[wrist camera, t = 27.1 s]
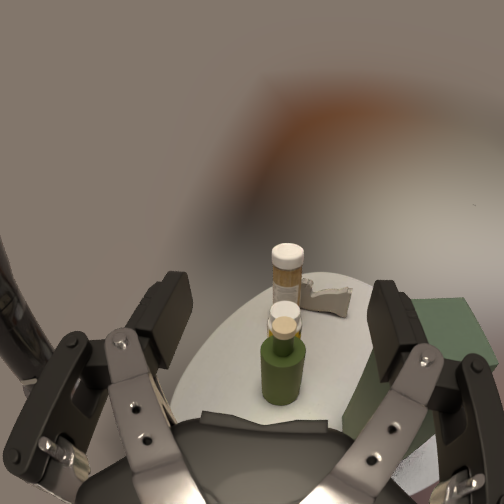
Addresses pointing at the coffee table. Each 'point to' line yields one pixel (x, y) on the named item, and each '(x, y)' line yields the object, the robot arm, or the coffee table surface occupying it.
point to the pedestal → (439, 335)
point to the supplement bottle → (284, 310)
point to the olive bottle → (282, 362)
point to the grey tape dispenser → (325, 299)
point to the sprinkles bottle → (287, 272)
